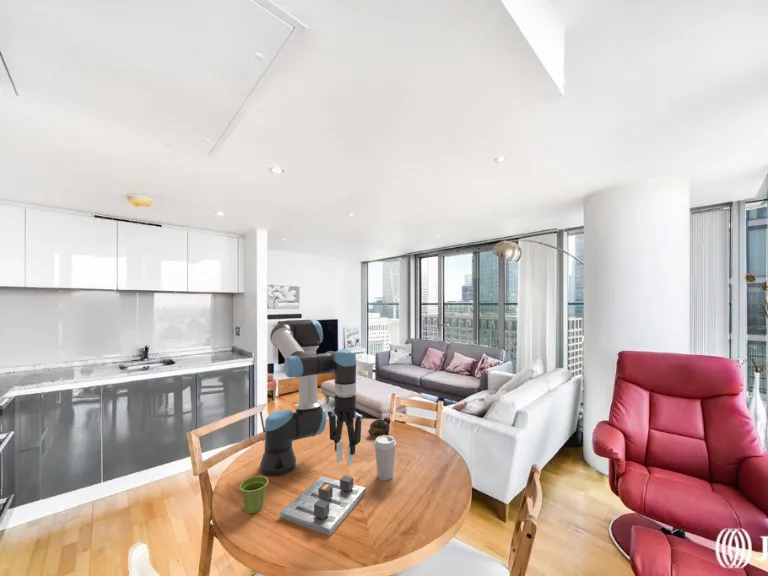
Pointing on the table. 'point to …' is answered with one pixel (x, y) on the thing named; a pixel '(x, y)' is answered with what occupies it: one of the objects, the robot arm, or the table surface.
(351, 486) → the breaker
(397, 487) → the table surface
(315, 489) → the panel
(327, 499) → the breaker
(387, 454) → the coffee cup
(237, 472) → the table surface
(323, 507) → the block
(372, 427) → the decorative turtle
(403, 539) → the table surface
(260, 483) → the plant pot
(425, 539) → the table surface
